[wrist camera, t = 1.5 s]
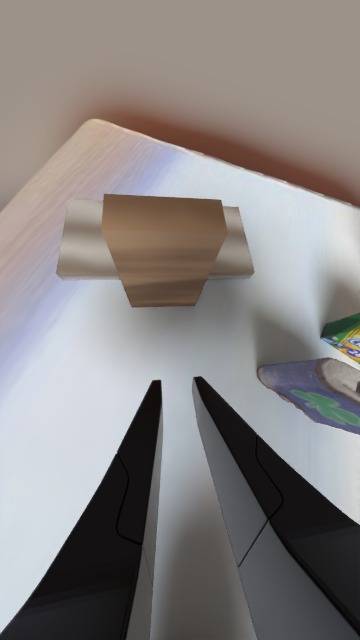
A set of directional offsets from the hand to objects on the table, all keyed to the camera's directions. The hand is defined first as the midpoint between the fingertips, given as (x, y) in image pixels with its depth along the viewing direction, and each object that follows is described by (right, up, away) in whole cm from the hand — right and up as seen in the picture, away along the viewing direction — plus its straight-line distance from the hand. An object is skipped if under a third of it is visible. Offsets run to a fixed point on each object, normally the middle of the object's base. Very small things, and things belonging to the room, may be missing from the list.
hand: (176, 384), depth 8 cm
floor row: (-3, +14, +17) cm, 22 cm away
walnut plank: (-2, +6, +14) cm, 16 cm away
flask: (+13, -5, +12) cm, 19 cm away
